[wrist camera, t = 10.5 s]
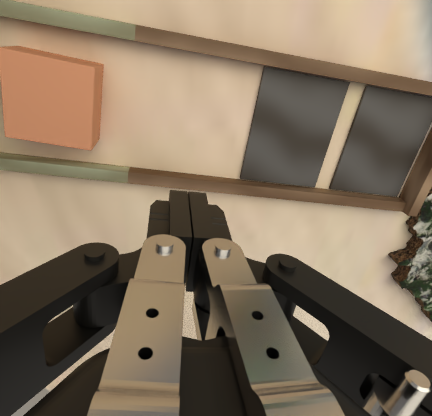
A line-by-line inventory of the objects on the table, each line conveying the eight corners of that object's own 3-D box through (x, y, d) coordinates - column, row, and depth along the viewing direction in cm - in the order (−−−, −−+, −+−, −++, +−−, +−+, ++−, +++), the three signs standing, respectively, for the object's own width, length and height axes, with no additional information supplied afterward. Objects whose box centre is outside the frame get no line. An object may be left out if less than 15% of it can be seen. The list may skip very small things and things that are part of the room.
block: (20, 46, 28) (-2, 47, 24) (103, 64, 29) (94, 67, 26) (23, 125, 31) (5, 136, 27) (99, 138, 32) (91, 150, 29)
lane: (-62, -14, 25) (-100, -22, 22) (460, 88, 34) (493, 93, 31) (-30, 160, 32) (-55, 175, 28) (403, 206, 41) (425, 222, 37)
